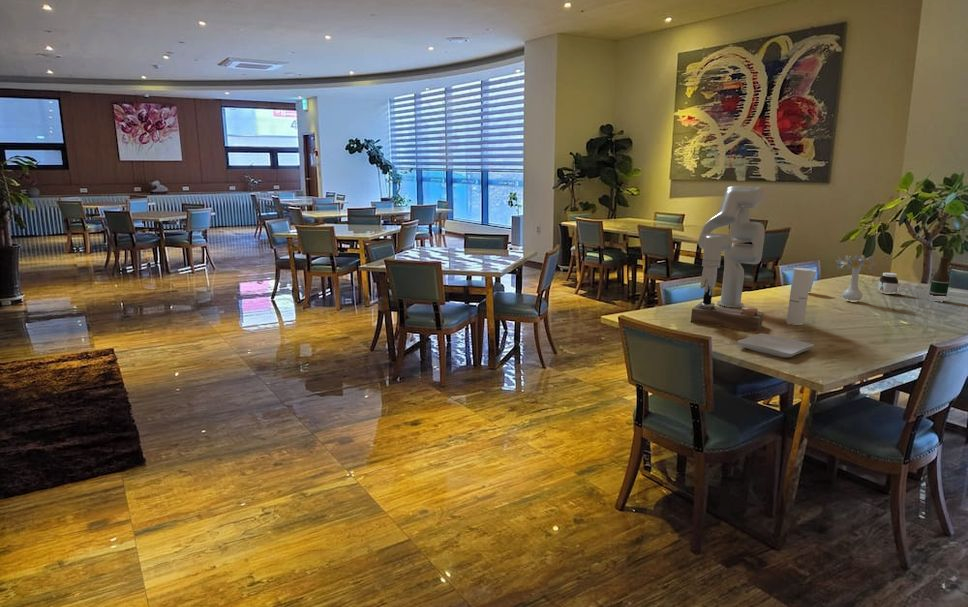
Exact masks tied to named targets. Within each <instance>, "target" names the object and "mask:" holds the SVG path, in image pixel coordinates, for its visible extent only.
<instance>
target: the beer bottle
mask: <svg viewBox="0 0 968 607" xmlns="http://www.w3.org/2000/svg"><path fill="white" fill-rule="evenodd" d="M949 260H950V258H949V257H948V256H941V257H940V262H939V265H938V269H937V271H936V272H935V273H934V274H933V276H932V277H931V281H930V288H929V291H928V292H929V293H928V295H929V294H930V295H933V296H946V297H947V296H948V290H949V285H950V281H951V280H950V279H951V278H950V275H949V273H948V265H949V264H948V263H949Z"/></svg>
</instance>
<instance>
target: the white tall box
mask: <svg viewBox="0 0 968 607" xmlns="http://www.w3.org/2000/svg"><path fill="white" fill-rule="evenodd" d="M812 270H813V269H812ZM812 270H811V268H805V267H793V271H792V277H791V278H792V279H791V286H790V292H789V299H788V307H787V315H786V316H787V317H786V322H787V323H788V324H787V323H786V324H787V325H789V324H793V325H792V326H794V325H802V324H804V325H805V319H806V312H807V305H808V299H809V294H808V292H809V285H810V278H811V271H812Z"/></svg>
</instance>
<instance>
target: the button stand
mask: <svg viewBox="0 0 968 607" xmlns="http://www.w3.org/2000/svg"><path fill="white" fill-rule="evenodd" d="M699 304H700V303H698V304H696V305H695V306H694V307H693V308H691V316H690V322H691V321H692V322H691V323H696V322H698V323H699V324H703V325H704V324H705V325H710V324H711V326H716V325H719V326H718V327H723V326H726V327H725V328H730V327H732V328H731V329H737V330H743V329H744V330H745V331H752V332H757V331H758V332H759V330H760V329H761V327H762V326H763V319H764V312H761V311H757V312H756V314H755V316H752V315H745V314H743V311H742V309H741V308H739V309H738V308H731V307H724V306H715V305H714V307H713V310H708V309H700V306H699ZM698 323H697V324H698Z"/></svg>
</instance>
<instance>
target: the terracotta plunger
mask: <svg viewBox="0 0 968 607" xmlns="http://www.w3.org/2000/svg"><path fill="white" fill-rule="evenodd" d="M741 310H742V311H743V314H745V315H752V316H755V314H756V312H758V310H759V309H758V308H757V307H753V306H743V307H741Z"/></svg>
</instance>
